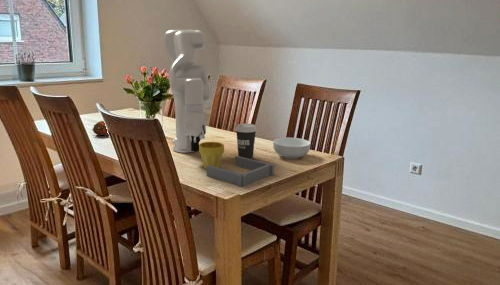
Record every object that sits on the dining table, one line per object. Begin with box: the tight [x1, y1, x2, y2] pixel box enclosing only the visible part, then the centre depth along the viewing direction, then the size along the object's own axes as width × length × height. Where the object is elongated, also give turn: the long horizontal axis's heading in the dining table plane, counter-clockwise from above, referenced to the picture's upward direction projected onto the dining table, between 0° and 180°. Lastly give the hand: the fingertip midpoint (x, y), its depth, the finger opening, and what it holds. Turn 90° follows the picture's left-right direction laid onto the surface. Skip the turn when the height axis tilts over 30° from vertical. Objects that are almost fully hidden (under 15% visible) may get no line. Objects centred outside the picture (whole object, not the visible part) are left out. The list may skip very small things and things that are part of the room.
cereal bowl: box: [272, 137, 311, 160], centre depth 201 cm, size 17×17×7 cm
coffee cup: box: [235, 123, 258, 160], centre depth 196 cm, size 10×10×15 cm
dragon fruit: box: [91, 120, 109, 136], centre depth 235 cm, size 8×8×12 cm
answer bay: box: [206, 155, 275, 187], centre depth 174 cm, size 19×20×4 cm
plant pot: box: [198, 141, 225, 170], centre depth 183 cm, size 10×10×10 cm
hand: (195, 150), depth 188 cm, fingers closed
